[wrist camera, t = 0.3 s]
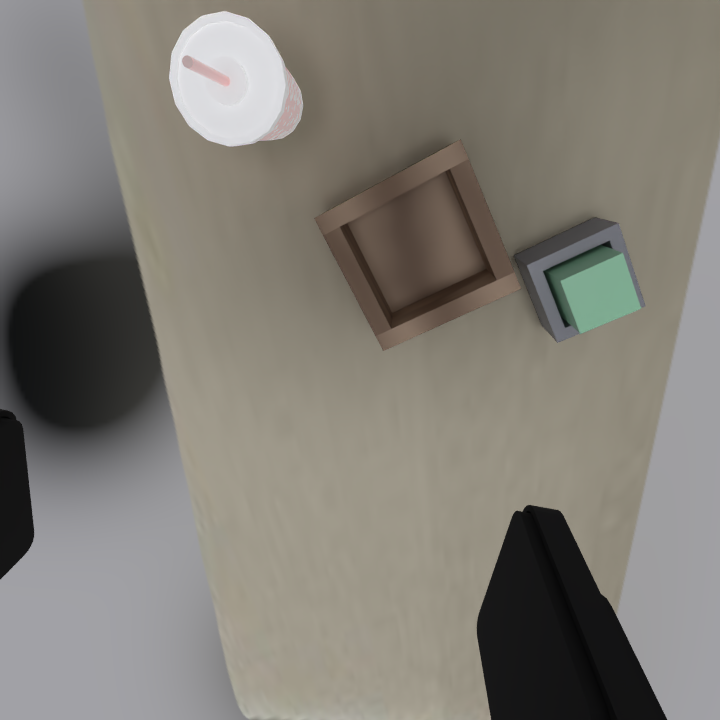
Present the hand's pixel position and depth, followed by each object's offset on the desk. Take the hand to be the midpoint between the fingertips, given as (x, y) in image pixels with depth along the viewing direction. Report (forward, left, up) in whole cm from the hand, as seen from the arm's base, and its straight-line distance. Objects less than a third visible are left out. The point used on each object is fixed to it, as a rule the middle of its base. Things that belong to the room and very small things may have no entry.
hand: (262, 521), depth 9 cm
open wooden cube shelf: (-4, +1, -30) cm, 30 cm away
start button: (-13, +8, -28) cm, 32 cm away
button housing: (-13, +8, -30) cm, 33 cm away
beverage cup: (+1, -12, -30) cm, 32 cm away
